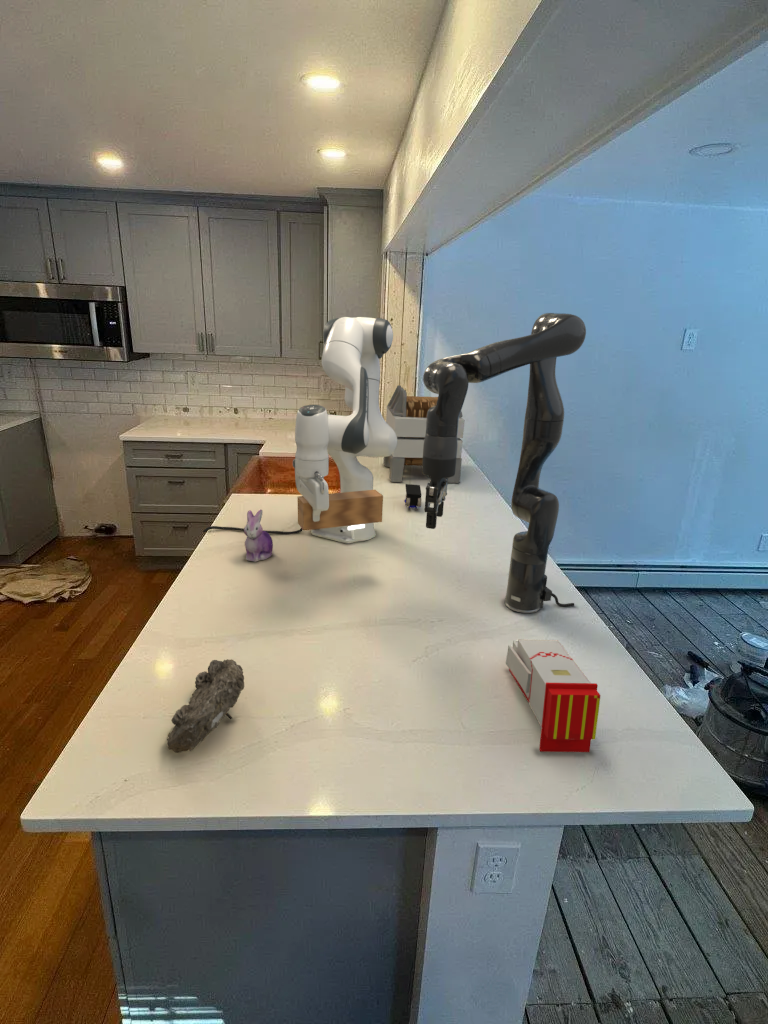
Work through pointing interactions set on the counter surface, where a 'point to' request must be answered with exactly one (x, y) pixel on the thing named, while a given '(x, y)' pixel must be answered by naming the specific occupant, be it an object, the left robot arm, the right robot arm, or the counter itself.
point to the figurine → (257, 538)
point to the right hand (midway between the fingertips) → (434, 521)
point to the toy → (556, 694)
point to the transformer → (413, 433)
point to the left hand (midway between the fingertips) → (311, 516)
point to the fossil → (206, 705)
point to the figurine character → (413, 496)
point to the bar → (343, 510)
